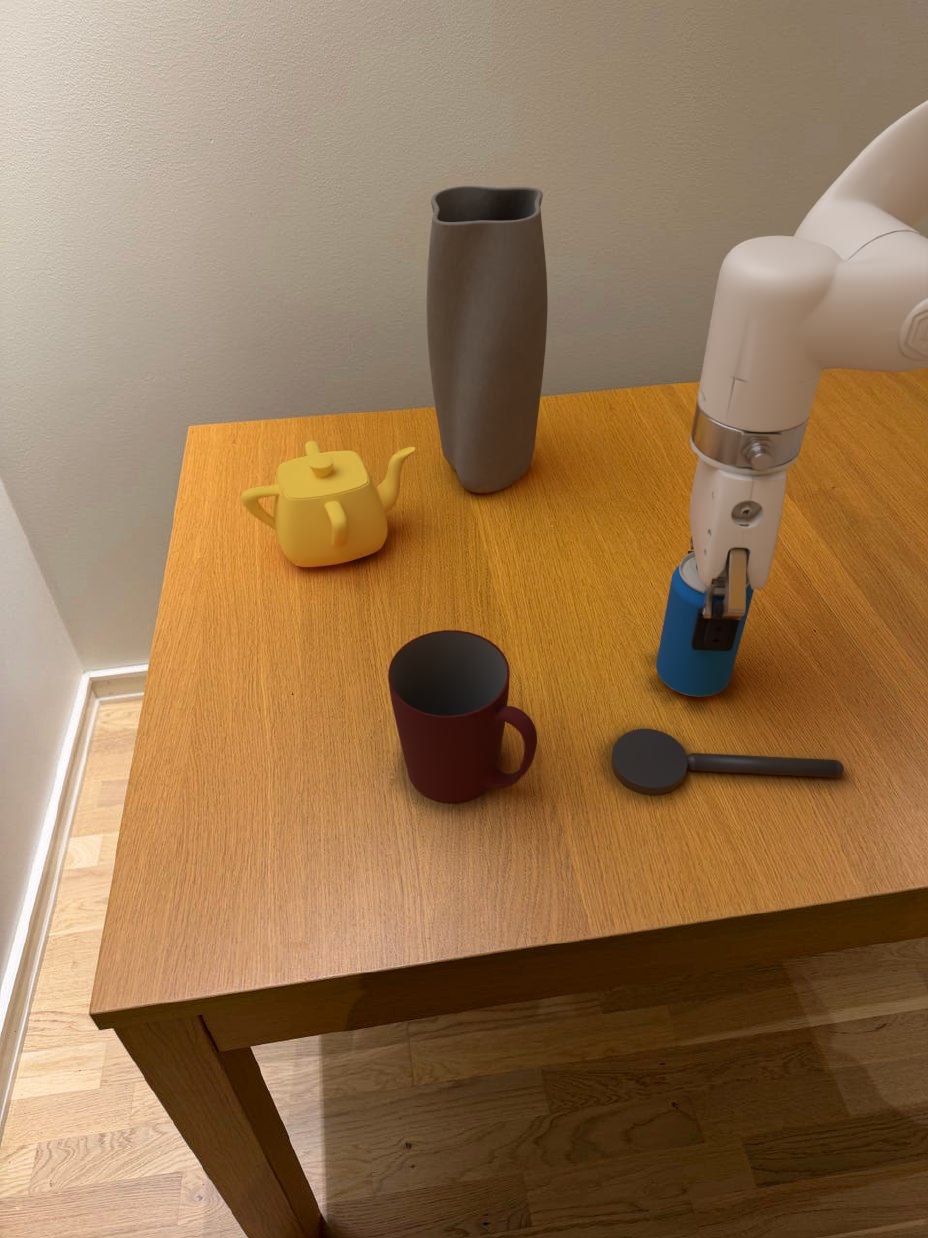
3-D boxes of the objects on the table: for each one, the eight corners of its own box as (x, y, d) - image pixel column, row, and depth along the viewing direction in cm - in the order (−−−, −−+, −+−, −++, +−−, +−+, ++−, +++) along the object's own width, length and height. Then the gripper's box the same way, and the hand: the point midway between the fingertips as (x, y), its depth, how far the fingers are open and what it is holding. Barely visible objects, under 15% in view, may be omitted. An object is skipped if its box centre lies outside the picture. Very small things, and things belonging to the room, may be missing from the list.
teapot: (327, 491, 102) (314, 411, 95) (422, 523, 97) (416, 441, 90) (248, 557, 93) (228, 474, 86) (348, 596, 88) (335, 511, 81)
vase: (545, 448, 107) (559, 184, 87) (533, 507, 99) (545, 227, 78) (446, 441, 109) (436, 179, 89) (425, 497, 100) (409, 221, 80)
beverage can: (713, 645, 81) (737, 541, 73) (741, 696, 77) (770, 591, 69) (645, 655, 81) (662, 551, 73) (669, 707, 76) (690, 602, 68)
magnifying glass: (832, 745, 73) (836, 734, 72) (850, 805, 69) (855, 794, 68) (609, 734, 74) (611, 723, 73) (612, 793, 70) (614, 782, 69)
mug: (561, 776, 71) (569, 681, 64) (495, 852, 66) (497, 759, 59) (444, 709, 77) (439, 614, 69) (375, 775, 72) (362, 680, 64)
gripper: (830, 501, 55) (769, 696, 67) (779, 371, 68) (735, 554, 80) (708, 498, 56) (669, 692, 68) (680, 369, 69) (651, 552, 81)
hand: (705, 616), depth 74 cm, fingers closed on beverage can, 6 cm apart
